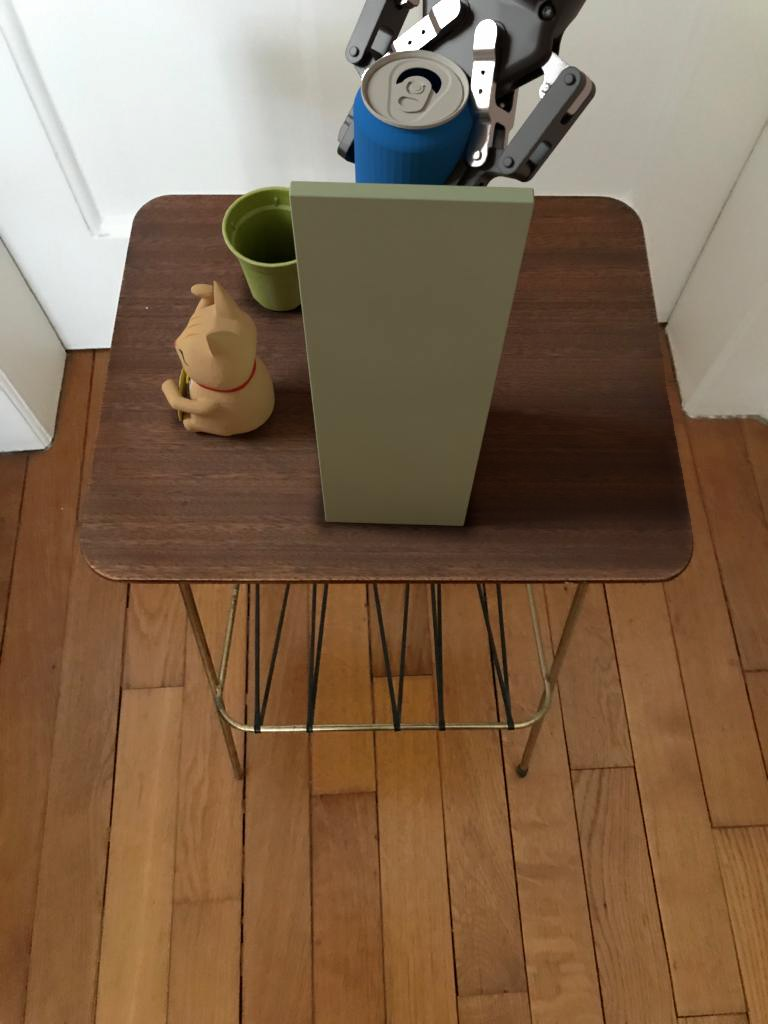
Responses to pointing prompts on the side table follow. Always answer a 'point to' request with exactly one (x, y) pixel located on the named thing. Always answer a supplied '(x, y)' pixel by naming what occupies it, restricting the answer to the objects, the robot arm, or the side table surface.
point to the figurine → (220, 369)
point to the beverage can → (411, 119)
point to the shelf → (404, 337)
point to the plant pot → (265, 246)
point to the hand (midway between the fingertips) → (392, 192)
